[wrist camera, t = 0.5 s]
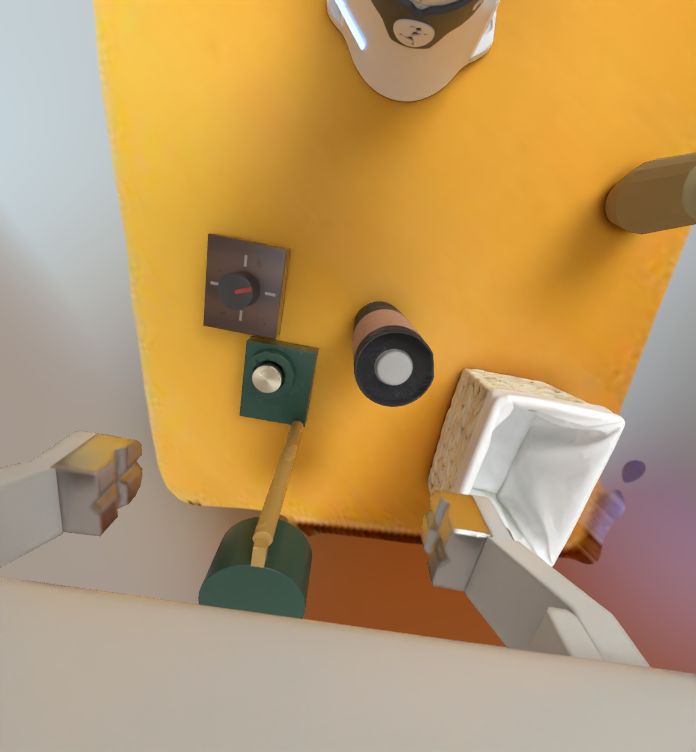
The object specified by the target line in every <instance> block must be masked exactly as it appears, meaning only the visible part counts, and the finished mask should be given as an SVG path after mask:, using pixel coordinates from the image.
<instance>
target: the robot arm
mask: <svg viewBox="0 0 696 752" xmlns="http://www.w3.org/2000/svg"><path fill="white" fill-rule="evenodd" d="M499 1H500V0H327V12H328V15H329V17H330V19H331V21H332V22H333V23H334V25H335V26H336V27H337V28H338V30H339V31H340V32H341V33H342V34H343V36H344V38H345V40H346V43H347V45H348V48H349V52H350V55H351V57H352V60H353V62H354V65H355V67H356V68H357V70H358V72H359V74H360V75H361V77H362V78H363V79H364V80H365V82H366V83H367V84H368V85H369V86H370V87H371V88H372V89H374V90H375V91H376V92H378V93H379V94H381V95H383V96H385V97H387V98H389V99H392V100H396V101H404V102H409V101H417V100H421V99H424V98H427V97H429V96H431V95H433V94H435V93H436V92H438V91H439V90H441V89H442V88H443V87H445V86H446V85H447V84H448V83H449V82H450V81H451V80H452V79H453V77H454V76H455V75H456V74H457V73H458V72H459V71H460V70H461V69H462V68H463V67H464V66H465V65H467V64H469V63H471V62H473V61H475V60H477V59H479V58H480V57H482V56H483V55H485V54H486V53H487V52H488V50H489V49H490V47H491V45H492V42H493V39H494V31H495V21H496V12H497V6H498V4H499ZM141 455H142V448H141V444H140V442H139V441H137V440H132V439H126V438H121V437H115V436H110V435H104V434H98V433H93V432H87V431H76V432H74V433H73V434H71V435H69V436H68V437H66V438H65V439H63V440H62V441H60V442H59V443H57V444H56V445H54V446H53V447H51V448H49V449H48V450H46V451H45V452H43V453H42V454H40V455H39V456H37V457H36V458H34V459H33V460H31V461H29V462H28V463H26V464H23V463H17V464H13V465H10V466H5V467H2V468H0V568H1V567H3V566H4V565H6V564H8V563H10V562H12V561H14V560H16V559H17V558H19V557H21V556H23V555H25V554H27V553H29V552H30V551H32V550H34V549H36V548H38V547H40V546H41V545H43V544H45V543H47V542H49V541H51V540H53V539H54V538H56V537H58V536H60V535H61V534H63V532H68V533H76V534H85V535H94V536H101V535H102V533H103V532H104V531H105V530H106V529H107V528H108V527H109V526H110V524H111V523H112V522H113V521H114V520H115V519H116V518H117V517H118V514H117V513H118V511H117V509H119V508H121V507H123V506H125V505H127V504H129V503H130V502H131V500H132V499H133V498H134V497H135V495H136V493H137V491H138V489H139V487H140V484H141V480H142V468H141V467H140V465H139V464H138V463H137V459H138V458H139V457H140V456H141ZM429 502H430V506H431V510H430V511H428V512H427V513H426V514H425V516H424V520H423V523H422V532H421V536H422V544H423V548H424V550H425V551H426V552H427V553H428V555H429V556H430V557H429V559H428V562H427V565H428V569H429V573H430V577H431V581H432V585H433V586H437V587H443V588H449V589H454V590H460V591H465V594H466V596H467V597H468V598H469V599H470V601H471V602H472V603H473V605H474V606H475V607H476V608H477V610H478V611H479V612H480V613H481V615H482V616H483V617H484V618H485V620H486V621H487V622H488V624H489V625H490V626H491V627H492V629H493V630H494V631H495V633H496V634H497V635H498V636H499V637H500V639H501V640H502V641H503V643H504V644H505V645H506V646H507V647H500V646H493V645H485V644H477V643H470V642H463V641H456V640H449V639H441V638H434V637H427V636H420V635H413V634H405V633H398V632H391V631H384V630H377V629H370V628H363V627H356V626H349V625H342V624H335V623H327V622H320V621H314V620H307V619H300V618H293V617H285V616H278V615H271V614H264V613H257V612H249V611H242V610H235V609H228V608H221V607H213V606H206V605H199V604H191V603H185V602H177V601H170V600H163V599H155V598H149V597H141V596H134V595H127V594H119V593H113V592H106V591H98V590H91V589H84V588H77V587H70V586H63V585H55V584H48V583H41V582H34V581H27V580H20V579H12V578H5V577H0V752H696V674H693V673H686V672H679V671H671V670H664V669H657V668H651V667H650V666H649V665H648V663H647V662H646V660H645V659H644V658H643V656H642V655H641V653H640V652H639V651H638V649H637V648H636V646H635V645H634V644H633V642H632V641H631V639H630V638H629V637H628V635H627V634H626V632H625V631H624V630H623V628H622V627H621V626H620V624H619V623H618V621H617V620H616V619H615V618H614V616H613V615H612V614H611V613H610V612H609V611H607V610H606V609H605V608H603V607H602V606H601V605H599V604H598V603H597V602H596V601H594V600H593V599H591V598H590V597H589V596H588V595H587V594H585V593H584V592H583V591H582V590H580V589H579V588H578V587H577V586H575V585H574V584H573V583H571V582H570V581H569V580H568V579H566V578H565V577H564V576H563V575H561V574H560V573H558V572H557V571H556V570H555V569H553V568H552V567H551V566H550V565H548V564H547V563H546V562H545V561H543V560H542V559H541V558H539V557H538V556H537V555H536V554H534V553H533V552H532V551H531V550H529V549H528V548H527V547H525V546H524V545H523V544H522V543H520V542H519V541H513V539H512V537H511V535H510V534H509V532H508V530H507V528H506V527H505V525H504V523H503V521H502V519H501V518H500V516H499V514H498V512H497V511H496V509H495V507H494V505H493V504H492V502H491V500H490V499H489V498H487V497H484V496H477V495H466V494H459V493H453V492H446V491H440V490H434V491H433V493H432V495H431V498H430V501H429Z"/></svg>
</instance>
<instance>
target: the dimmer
mask: <svg viewBox="0 0 696 752" xmlns="http://www.w3.org/2000/svg"><path fill="white" fill-rule="evenodd" d="M289 257H290V249H286V248H282V247H277V246H272V245H267V244H262V243H257V242H252V241H247V240H242V239H237V238H233V237H228V236H223V235H218V234H210V233H209V234H208V251H207V270H206V289H205V308H204V326H209V327H214V328H219V329H225V330H230V331H235V332H240V333H246V334H251V335H256V336H262V337H267V338H272V339H276V338H277V337H278V335H279V334H280V327H281V319H282V311H283V304H284V296H285V288H286V280H287V273H288V265H289ZM236 272H247V273H249V274H251V275H252V276H254V277H255V279H256V280H257V281H258V284H259V287H260V294H259V297H258V299H257V300H256V301H255V302H254V303H253V304H251V305H249V306H247V307H246V308H243V309H240V310H234V309H231V308H228V307H227V306H225V305H224V304H223V303H222V302H221V300H220V298H219V296H218V292H217V287H218V283H219V281H220V280H221V278H222V277H224V276H225V275H227V274H230V273H236Z"/></svg>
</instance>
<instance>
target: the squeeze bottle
mask: <svg viewBox="0 0 696 752" xmlns="http://www.w3.org/2000/svg"><path fill="white" fill-rule="evenodd" d="M605 213H606V215H607V217H608V219H609V221H611V222H612V223H613V224H614V225H616V226H618V227H620V228H622V229H624V230H626V231H628V232H632V233H638V234H646V233H651V232H657V231H662V230H667V229H672V228H678V227H683V226H688V225H694V224H696V153H691V154H685V155H679V156H673V157H667V158H661V159H656V160H652V161H649V162H645V163H643V164H642V165H640V166H639V167H637V168H636V169H634V170H633V171H632V172H630V173H629V174H628V175H627V176H625V177H624V178H623V179H622V180H620V181H619V182H618V183H616V184H615V186H614V187H613V188H612V190H611V191H610V192H609V194H608V197H607V200H606V202H605Z"/></svg>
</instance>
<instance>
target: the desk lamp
mask: <svg viewBox="0 0 696 752" xmlns="http://www.w3.org/2000/svg"><path fill="white" fill-rule="evenodd" d="M302 430H303V424H302V423H301V422H300V421H294V422H293V423H292V424H291V427H290V430H289V433H288V436H287V439H286V442H285V444H284V447H283V450H282V453H281V456H280V459H279V462H278V465H277V468H276V471H275V474H274V477H273V479H272V482H271V485H270V488H269V491H268V494H267V497H266V500H265V503H264V506H263V509H262V512H261V515H260V517H254V518H249V519H246V520H243V521H241V522H239V523H237V524H235V525H234V526H232V527H231V528H230V529H229V530H228V531H227V532H226V534H225V535H224V537H223V539H222V541H221V543H220V546H219V548H218V550H217V552H216V555H215V557H214V559H213V561H212V564H211V566H210V568H209V570H208V573H207V575H206V577H205V580H204V582H203V584H202V586H201V589H200V591H199V597H198V598H199V605H206V606H213V607H221V608H228V609H235V610H242V611H249V612H257V613H264V614H271V615H278V616H285V617H293V618H300V619H303V616H304V613H305V607H306V598H307V591H308V583H309V576H310V568H311V560H312V551H311V547H310V544H309V542H308V540H307V538H306V537H305V536H304V534H303V533H302V532H301V531H300V530H299V529H297V528H296V527H295V526H293V525H291V524H290V523H287V522H285V521H283V520H280V519H279V516H280V512H281V508H282V504H283V501H284V497H285V493H286V490H287V486H288V482H289V478H290V475H291V471H292V467H293V464H294V460H295V456H296V452H297V449H298V445H299V441H300V438H301V434H302Z"/></svg>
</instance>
